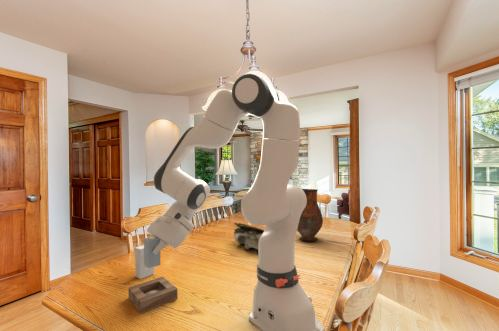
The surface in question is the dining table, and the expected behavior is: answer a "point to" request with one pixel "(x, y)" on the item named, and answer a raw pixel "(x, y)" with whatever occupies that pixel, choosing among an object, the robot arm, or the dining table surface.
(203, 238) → the dining table surface
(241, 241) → the hollow geode rock
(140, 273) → the skincare box
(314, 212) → the brown vase
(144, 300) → the socket block
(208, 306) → the dining table surface
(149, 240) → the post
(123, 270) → the dining table surface
